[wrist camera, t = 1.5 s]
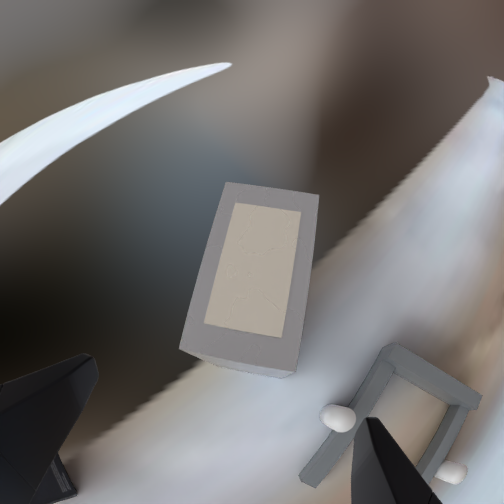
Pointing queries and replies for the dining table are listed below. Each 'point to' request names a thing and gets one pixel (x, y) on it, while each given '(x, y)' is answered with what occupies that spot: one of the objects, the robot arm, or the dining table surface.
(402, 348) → the dock
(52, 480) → the small box
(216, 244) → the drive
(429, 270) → the dining table surface
